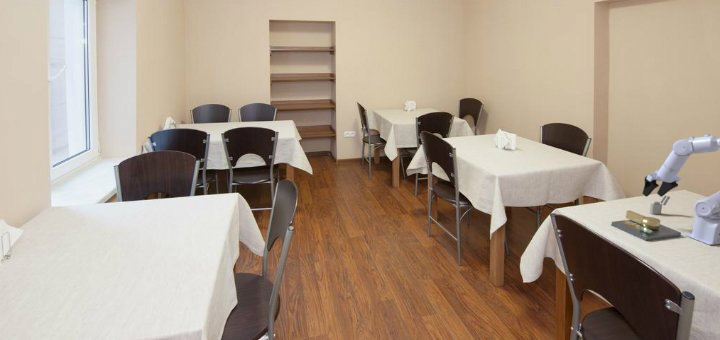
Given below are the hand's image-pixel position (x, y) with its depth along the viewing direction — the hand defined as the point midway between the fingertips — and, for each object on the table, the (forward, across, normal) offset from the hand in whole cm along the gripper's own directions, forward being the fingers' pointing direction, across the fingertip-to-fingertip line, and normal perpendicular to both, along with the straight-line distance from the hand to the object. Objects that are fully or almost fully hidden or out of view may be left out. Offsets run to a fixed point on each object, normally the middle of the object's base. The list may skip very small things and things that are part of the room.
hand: (652, 195), depth 178 cm
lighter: (+12, -14, -2) cm, 19 cm away
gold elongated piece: (+8, +7, +8) cm, 13 cm away
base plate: (+9, +8, +11) cm, 16 cm away
